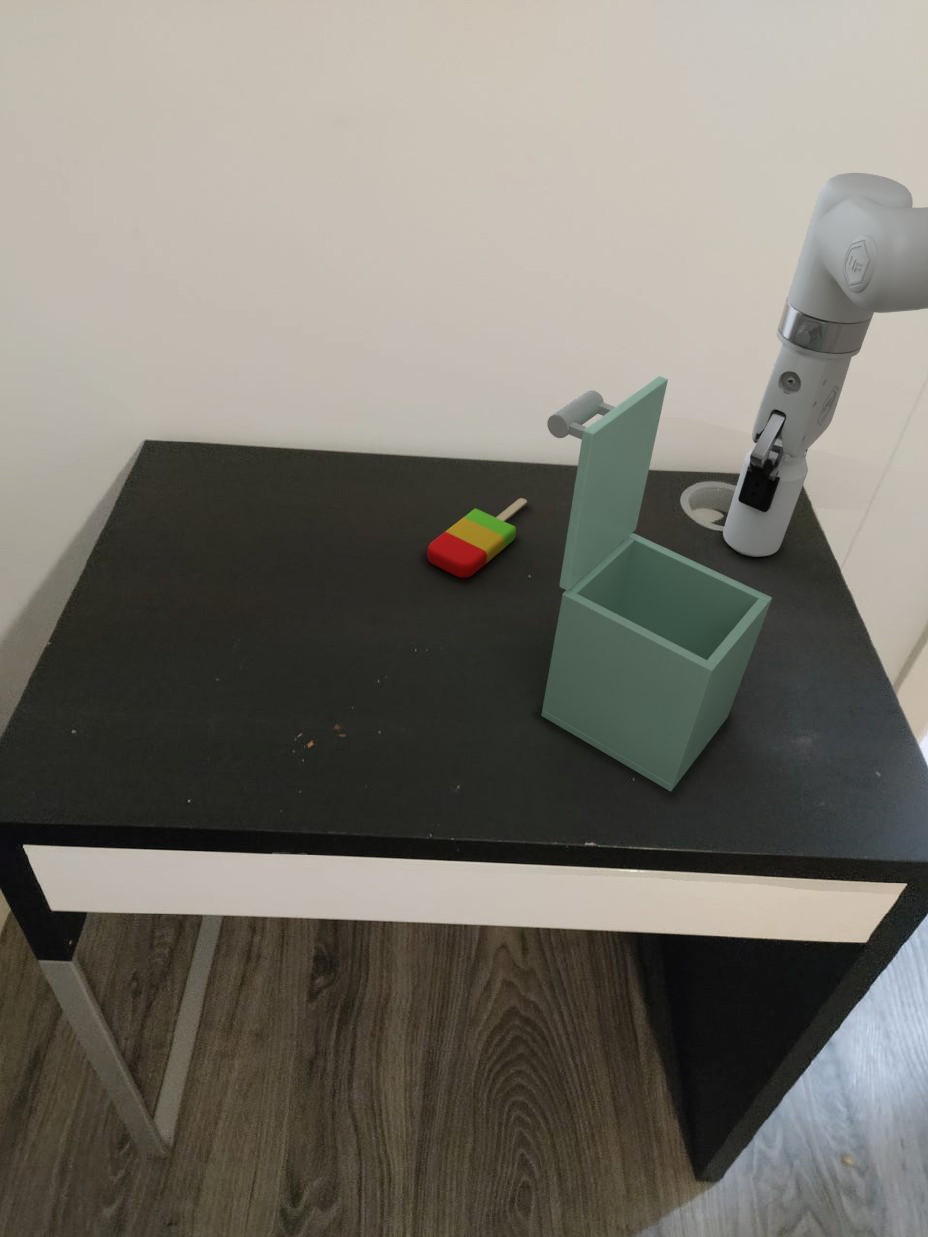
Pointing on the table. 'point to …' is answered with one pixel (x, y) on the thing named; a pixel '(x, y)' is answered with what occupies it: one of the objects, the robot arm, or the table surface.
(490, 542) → the popsicle
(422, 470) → the table surface
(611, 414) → the lid
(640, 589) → the pale green hollow box
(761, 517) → the beverage can
